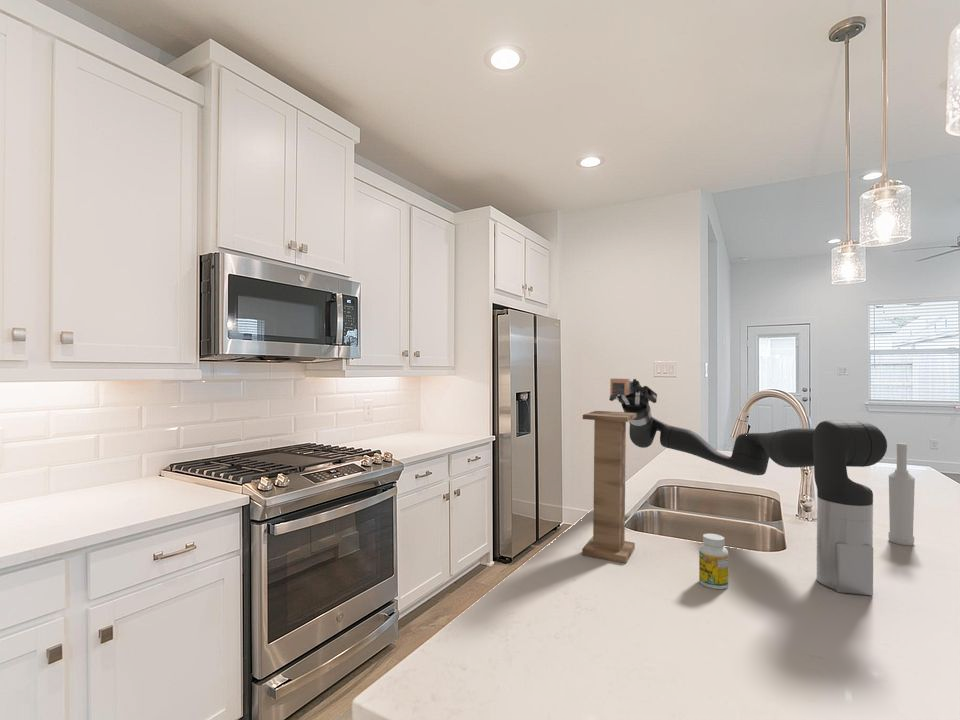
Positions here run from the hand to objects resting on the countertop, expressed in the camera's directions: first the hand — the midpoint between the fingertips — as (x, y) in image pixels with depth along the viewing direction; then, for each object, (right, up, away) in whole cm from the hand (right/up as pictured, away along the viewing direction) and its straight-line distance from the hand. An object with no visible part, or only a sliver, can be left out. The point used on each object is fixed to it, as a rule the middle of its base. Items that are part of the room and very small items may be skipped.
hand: (627, 381), depth 139 cm
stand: (-10, -39, -19) cm, 45 cm away
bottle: (+67, -40, -10) cm, 79 cm away
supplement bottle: (+7, -40, -36) cm, 54 cm away
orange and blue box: (-1, -3, -3) cm, 4 cm away
